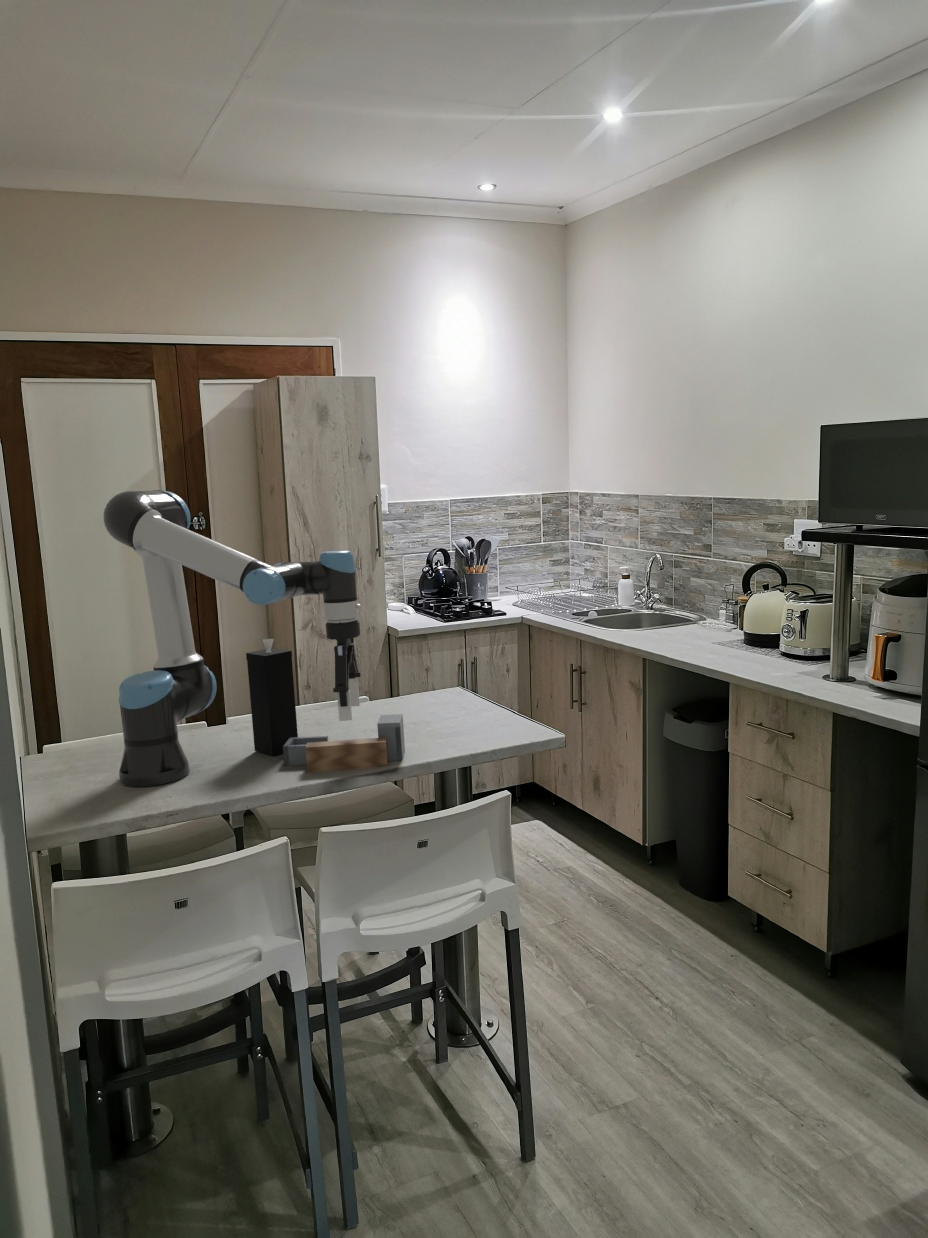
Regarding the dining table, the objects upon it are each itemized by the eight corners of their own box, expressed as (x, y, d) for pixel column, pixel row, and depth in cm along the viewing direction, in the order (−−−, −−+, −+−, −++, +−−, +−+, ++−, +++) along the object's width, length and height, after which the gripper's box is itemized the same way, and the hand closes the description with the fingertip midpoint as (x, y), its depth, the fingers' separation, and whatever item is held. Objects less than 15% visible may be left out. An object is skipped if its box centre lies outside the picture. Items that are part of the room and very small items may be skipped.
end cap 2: (379, 761, 213) (377, 723, 212) (383, 751, 221) (380, 715, 220) (402, 760, 213) (399, 722, 212) (404, 750, 221) (402, 714, 219)
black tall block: (299, 749, 227) (290, 637, 223) (272, 757, 221) (263, 642, 217) (280, 744, 232) (271, 634, 228) (254, 752, 226) (244, 639, 222)
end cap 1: (284, 765, 213) (282, 747, 213) (291, 755, 221) (289, 737, 221) (323, 764, 213) (322, 745, 213) (329, 754, 221) (327, 735, 220)
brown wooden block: (307, 773, 207) (305, 747, 207) (309, 768, 211) (307, 742, 211) (387, 767, 209) (385, 741, 208) (387, 762, 213) (385, 737, 212)
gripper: (351, 627, 193) (359, 725, 196) (365, 611, 218) (372, 699, 220) (315, 629, 193) (324, 727, 196) (333, 613, 218) (341, 701, 221)
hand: (349, 713), depth 208 cm, fingers open, 13 cm apart
